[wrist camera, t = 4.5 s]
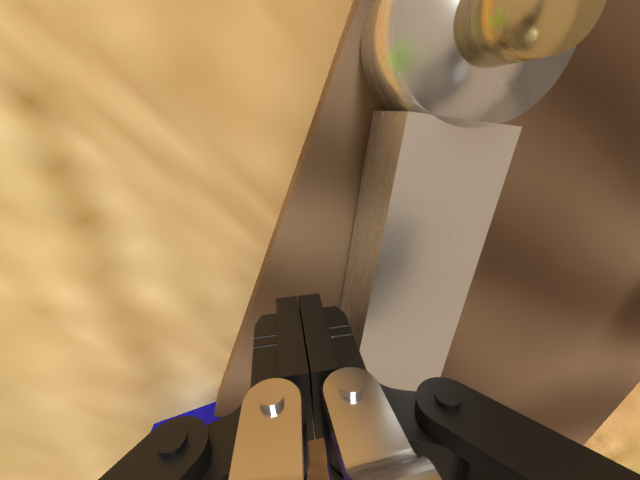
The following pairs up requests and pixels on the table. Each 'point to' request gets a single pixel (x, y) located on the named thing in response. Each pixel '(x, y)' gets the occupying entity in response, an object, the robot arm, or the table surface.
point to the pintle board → (498, 236)
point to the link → (441, 161)
